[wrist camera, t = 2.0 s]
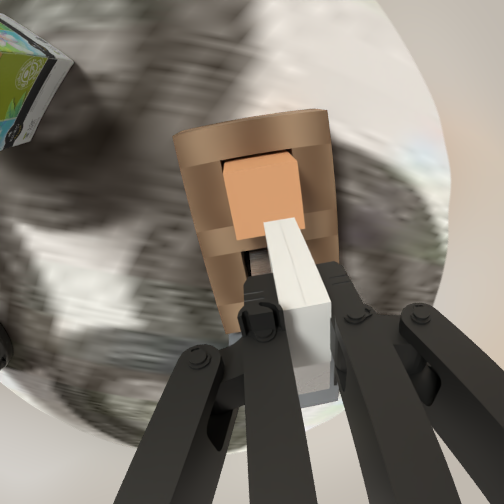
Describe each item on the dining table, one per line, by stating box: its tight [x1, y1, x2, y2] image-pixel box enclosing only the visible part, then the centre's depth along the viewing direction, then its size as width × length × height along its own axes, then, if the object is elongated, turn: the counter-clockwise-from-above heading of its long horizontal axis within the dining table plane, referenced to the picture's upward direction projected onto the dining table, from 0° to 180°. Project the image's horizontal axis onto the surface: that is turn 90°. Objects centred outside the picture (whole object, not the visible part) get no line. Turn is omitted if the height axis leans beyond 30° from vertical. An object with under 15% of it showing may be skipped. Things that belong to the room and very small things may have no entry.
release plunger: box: [223, 150, 305, 240], centre depth 23 cm, size 5×5×5 cm
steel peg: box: [249, 247, 330, 395], centre depth 24 cm, size 4×4×16 cm
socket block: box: [172, 109, 339, 334], centre depth 28 cm, size 12×20×4 cm, turn 10°
